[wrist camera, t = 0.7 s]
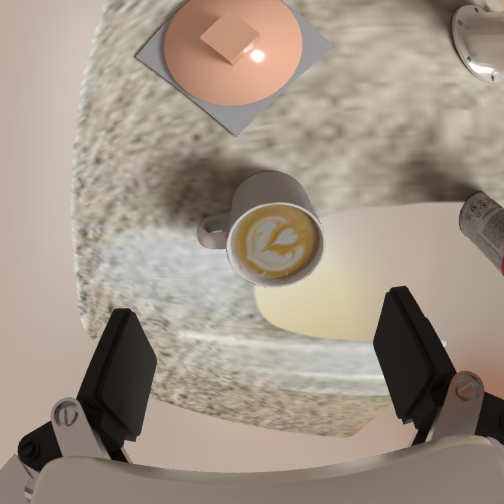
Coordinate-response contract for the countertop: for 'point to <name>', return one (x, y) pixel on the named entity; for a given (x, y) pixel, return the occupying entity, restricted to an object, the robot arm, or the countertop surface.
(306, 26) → the mat
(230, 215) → the coffee mug
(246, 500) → the robot arm
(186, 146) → the countertop surface
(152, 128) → the countertop surface
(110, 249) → the countertop surface
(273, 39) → the lid
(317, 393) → the countertop surface
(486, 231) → the spray can
